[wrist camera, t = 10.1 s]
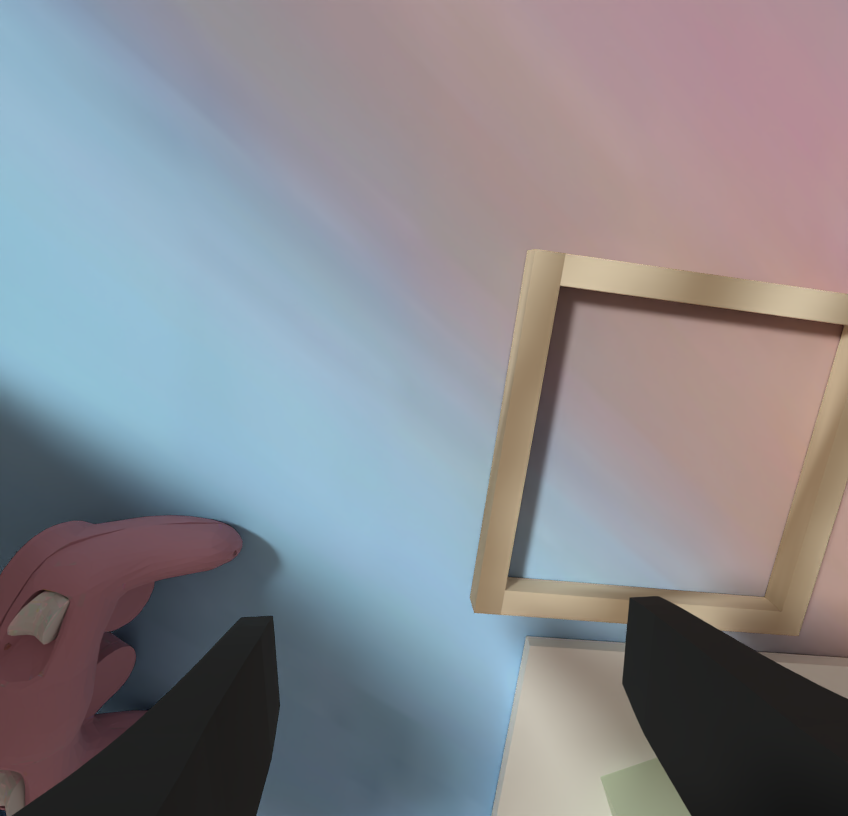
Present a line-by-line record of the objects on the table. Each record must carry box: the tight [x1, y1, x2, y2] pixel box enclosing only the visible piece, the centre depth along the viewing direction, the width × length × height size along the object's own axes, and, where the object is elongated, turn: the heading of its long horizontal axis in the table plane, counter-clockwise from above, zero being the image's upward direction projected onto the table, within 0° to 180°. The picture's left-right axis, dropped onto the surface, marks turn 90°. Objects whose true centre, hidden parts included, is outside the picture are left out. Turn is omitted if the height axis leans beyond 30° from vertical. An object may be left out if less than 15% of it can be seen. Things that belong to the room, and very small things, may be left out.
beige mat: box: [491, 636, 848, 816], centre depth 24 cm, size 14×14×1 cm
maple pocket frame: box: [470, 249, 848, 636], centre depth 20 cm, size 13×13×1 cm
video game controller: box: [0, 515, 243, 816], centre depth 18 cm, size 10×5×7 cm, turn 162°
